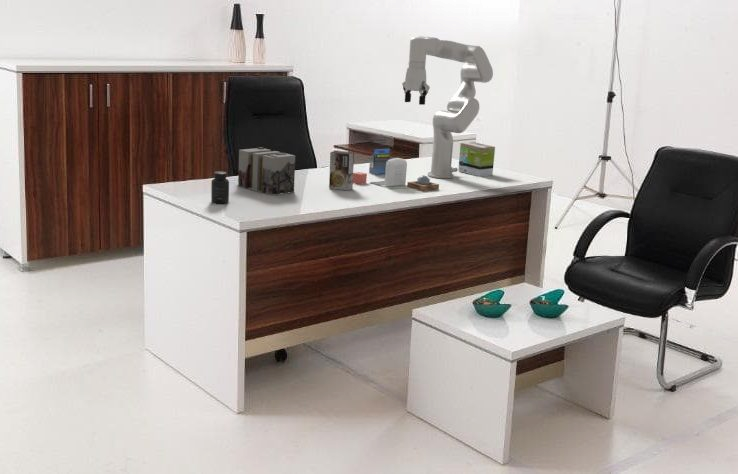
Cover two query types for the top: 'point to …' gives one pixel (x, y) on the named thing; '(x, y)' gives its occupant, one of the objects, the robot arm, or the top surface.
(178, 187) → the top surface
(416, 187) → the frame
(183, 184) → the top surface
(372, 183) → the pad
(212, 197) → the supplement bottle
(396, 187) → the pad
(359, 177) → the die
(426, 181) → the dome
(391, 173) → the photo printer
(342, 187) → the coffee box
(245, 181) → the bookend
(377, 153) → the blue retail box
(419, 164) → the top surface
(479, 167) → the tea box
